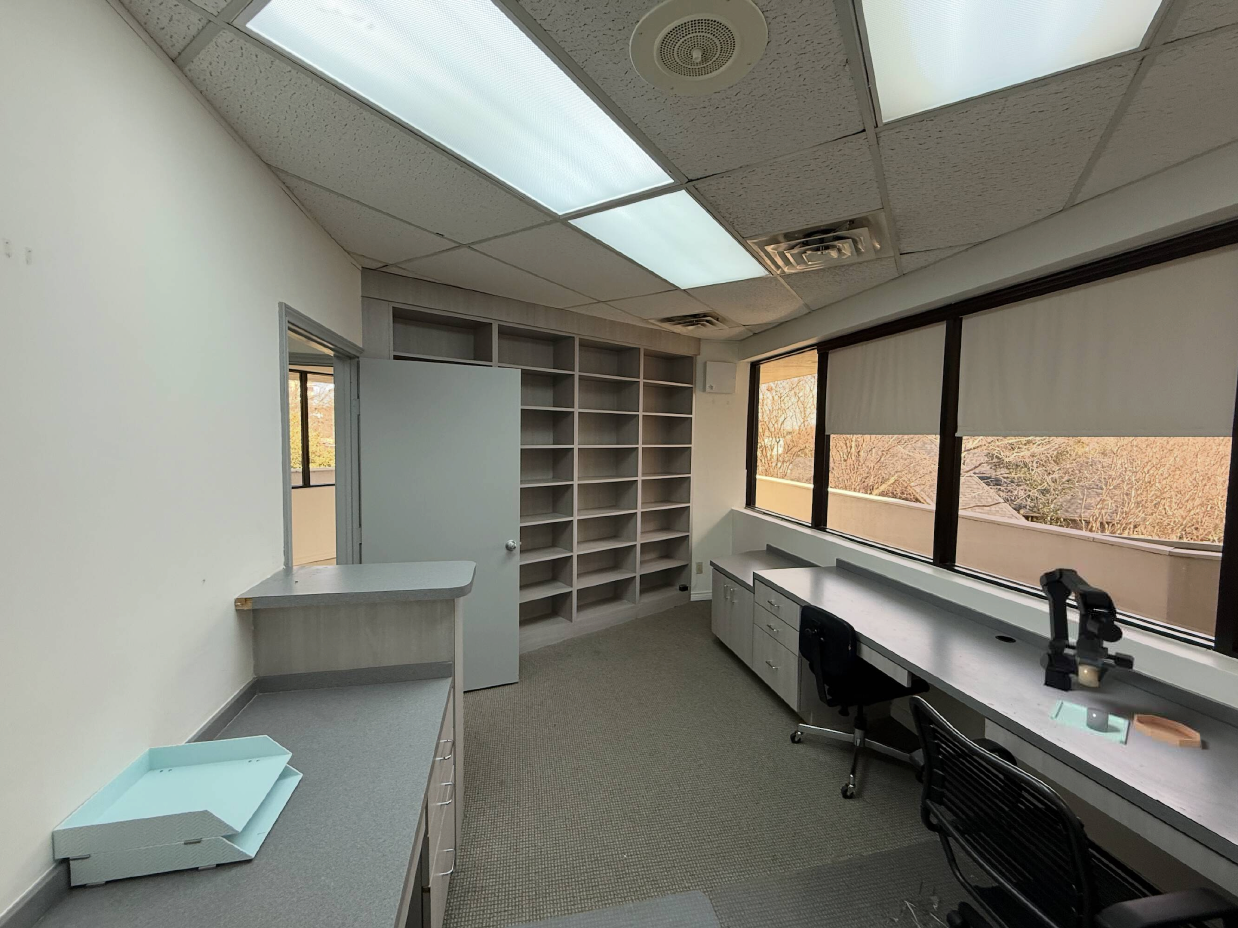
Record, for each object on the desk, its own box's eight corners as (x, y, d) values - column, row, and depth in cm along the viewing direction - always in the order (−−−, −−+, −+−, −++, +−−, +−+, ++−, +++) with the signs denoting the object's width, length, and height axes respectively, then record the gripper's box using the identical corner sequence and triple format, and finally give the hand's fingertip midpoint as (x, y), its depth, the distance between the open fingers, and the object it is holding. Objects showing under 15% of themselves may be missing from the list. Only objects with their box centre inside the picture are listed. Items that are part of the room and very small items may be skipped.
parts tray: (1049, 721, 149) (1049, 717, 149) (1058, 702, 160) (1058, 698, 160) (1124, 746, 137) (1124, 742, 136) (1128, 724, 148) (1128, 720, 148)
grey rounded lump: (1085, 727, 145) (1086, 710, 144) (1087, 721, 148) (1088, 705, 147) (1107, 734, 141) (1108, 717, 141) (1108, 728, 144) (1109, 712, 144)
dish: (1132, 733, 143) (1133, 724, 143) (1134, 717, 151) (1135, 709, 151) (1200, 754, 133) (1200, 745, 133) (1198, 736, 142) (1199, 728, 142)
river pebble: (1076, 682, 151) (1077, 666, 151) (1079, 678, 154) (1079, 662, 154) (1097, 688, 148) (1098, 672, 148) (1099, 683, 151) (1100, 668, 151)
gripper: (1046, 627, 152) (1044, 675, 153) (1132, 646, 138) (1129, 700, 139) (1053, 619, 159) (1050, 665, 160) (1135, 637, 145) (1132, 688, 146)
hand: (1088, 679), depth 151 cm, fingers closed on river pebble, 5 cm apart
